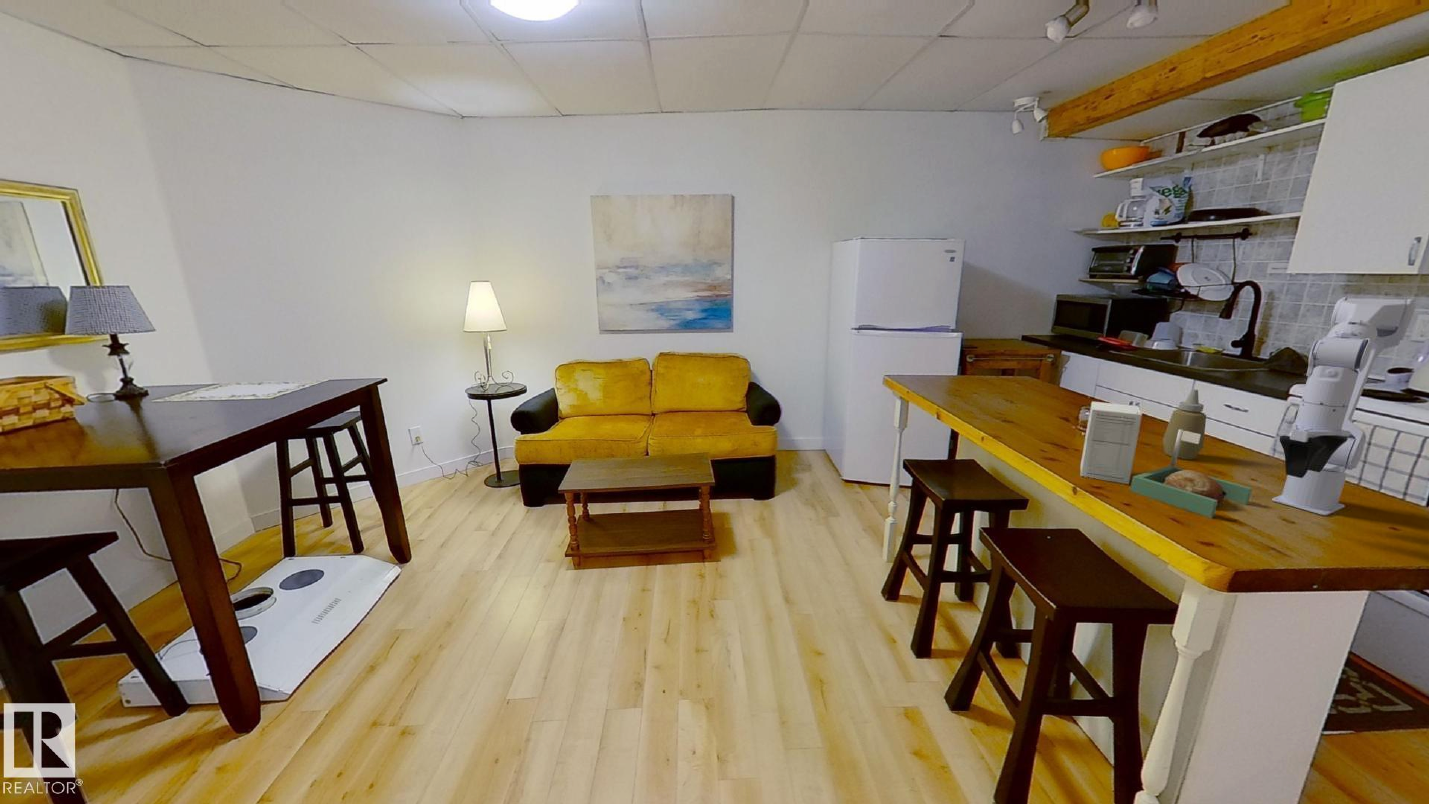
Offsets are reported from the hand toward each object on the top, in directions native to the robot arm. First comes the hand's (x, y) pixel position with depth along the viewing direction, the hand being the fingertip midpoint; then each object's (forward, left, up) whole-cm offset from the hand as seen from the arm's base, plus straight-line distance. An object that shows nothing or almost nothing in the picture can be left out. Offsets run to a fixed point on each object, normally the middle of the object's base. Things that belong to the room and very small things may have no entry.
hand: (1303, 473), depth 98 cm
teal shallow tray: (+3, -14, -10) cm, 18 cm away
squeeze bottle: (-27, -29, -11) cm, 41 cm away
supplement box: (+5, -30, -11) cm, 32 cm away
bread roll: (+3, -14, -11) cm, 18 cm away
